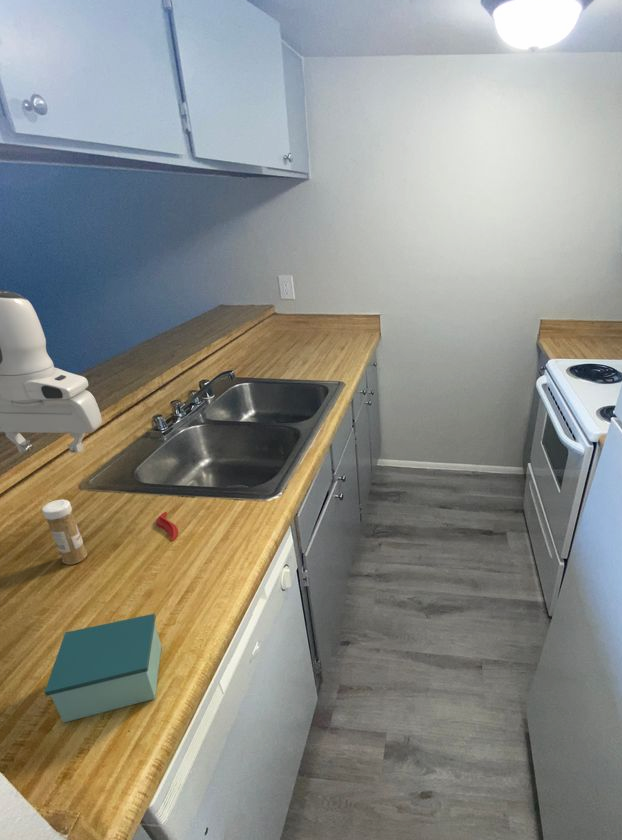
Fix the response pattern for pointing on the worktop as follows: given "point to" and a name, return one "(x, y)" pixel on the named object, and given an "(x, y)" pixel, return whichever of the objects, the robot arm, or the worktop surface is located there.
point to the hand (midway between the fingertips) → (51, 451)
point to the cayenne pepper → (167, 526)
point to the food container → (105, 668)
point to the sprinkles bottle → (65, 531)
